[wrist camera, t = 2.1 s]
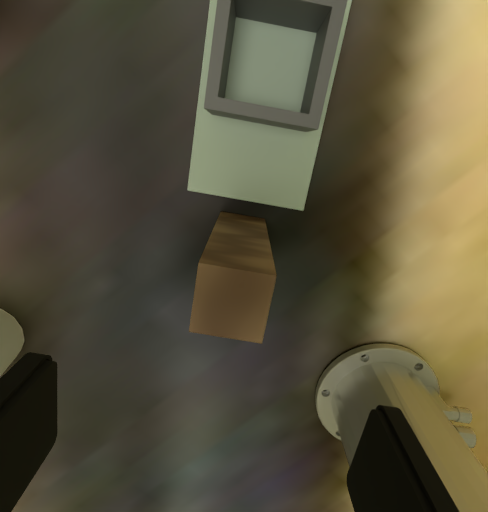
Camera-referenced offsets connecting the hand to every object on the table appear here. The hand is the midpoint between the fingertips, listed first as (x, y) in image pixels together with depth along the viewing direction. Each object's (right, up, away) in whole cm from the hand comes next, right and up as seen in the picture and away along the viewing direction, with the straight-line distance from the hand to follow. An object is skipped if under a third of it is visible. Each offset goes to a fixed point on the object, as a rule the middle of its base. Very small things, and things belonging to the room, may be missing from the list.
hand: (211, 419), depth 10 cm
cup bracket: (+3, +18, +17) cm, 25 cm away
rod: (+1, +7, +21) cm, 22 cm away
